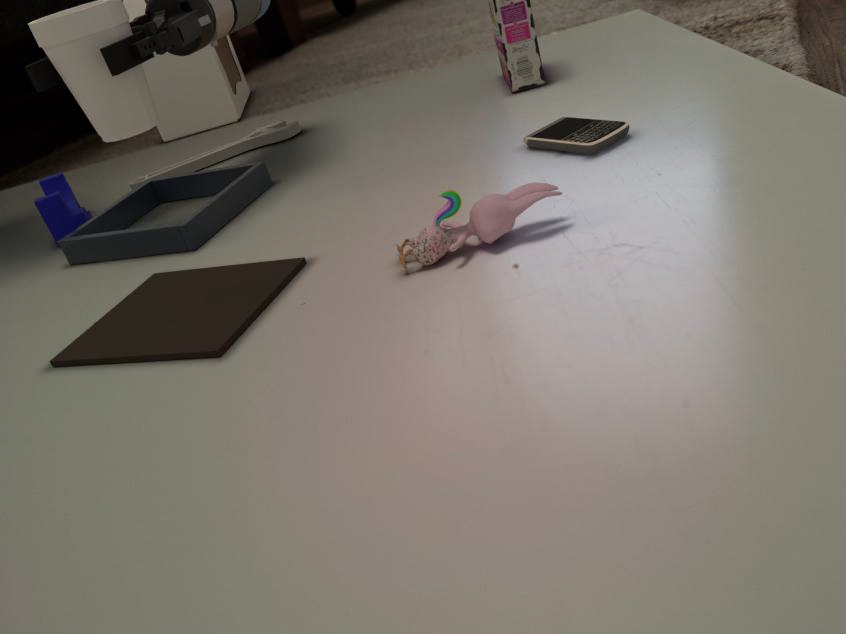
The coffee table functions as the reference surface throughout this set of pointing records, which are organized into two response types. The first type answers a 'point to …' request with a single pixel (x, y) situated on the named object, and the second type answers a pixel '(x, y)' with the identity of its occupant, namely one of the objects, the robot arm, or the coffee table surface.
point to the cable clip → (60, 207)
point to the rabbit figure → (473, 221)
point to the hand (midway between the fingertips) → (70, 70)
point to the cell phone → (577, 135)
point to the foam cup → (98, 67)
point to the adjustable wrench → (226, 150)
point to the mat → (182, 314)
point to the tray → (112, 242)
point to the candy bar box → (516, 43)
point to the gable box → (194, 86)
